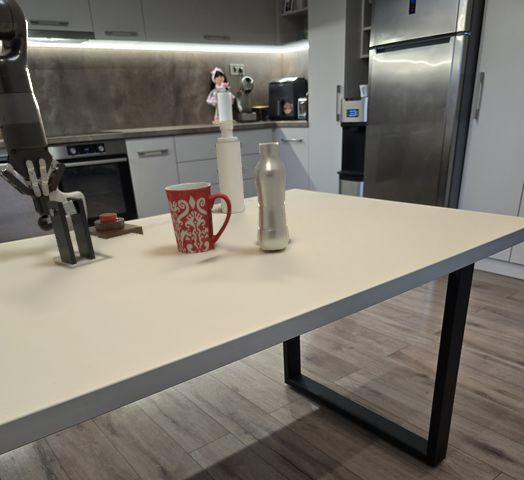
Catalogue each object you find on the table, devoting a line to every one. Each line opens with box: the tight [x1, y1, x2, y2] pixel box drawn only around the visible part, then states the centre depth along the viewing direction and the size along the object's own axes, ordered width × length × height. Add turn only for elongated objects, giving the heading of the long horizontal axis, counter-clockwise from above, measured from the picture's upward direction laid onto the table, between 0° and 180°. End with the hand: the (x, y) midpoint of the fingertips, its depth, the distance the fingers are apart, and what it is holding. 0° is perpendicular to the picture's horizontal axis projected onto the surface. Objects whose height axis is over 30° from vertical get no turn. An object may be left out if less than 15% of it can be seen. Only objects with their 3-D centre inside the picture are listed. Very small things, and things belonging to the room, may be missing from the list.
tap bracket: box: [46, 196, 96, 266], centre depth 92 cm, size 10×8×13 cm
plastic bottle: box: [253, 142, 290, 251], centre depth 93 cm, size 6×7×20 cm
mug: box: [164, 181, 232, 254], centre depth 95 cm, size 13×9×14 cm
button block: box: [89, 216, 144, 240], centre depth 117 cm, size 12×10×4 cm
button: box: [99, 212, 118, 222], centre depth 115 cm, size 4×4×2 cm
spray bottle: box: [215, 120, 246, 214], centre depth 133 cm, size 7×7×25 cm
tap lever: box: [37, 200, 77, 232], centre depth 95 cm, size 14×3×3 cm, turn 48°
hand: (45, 215), depth 98 cm, fingers closed
